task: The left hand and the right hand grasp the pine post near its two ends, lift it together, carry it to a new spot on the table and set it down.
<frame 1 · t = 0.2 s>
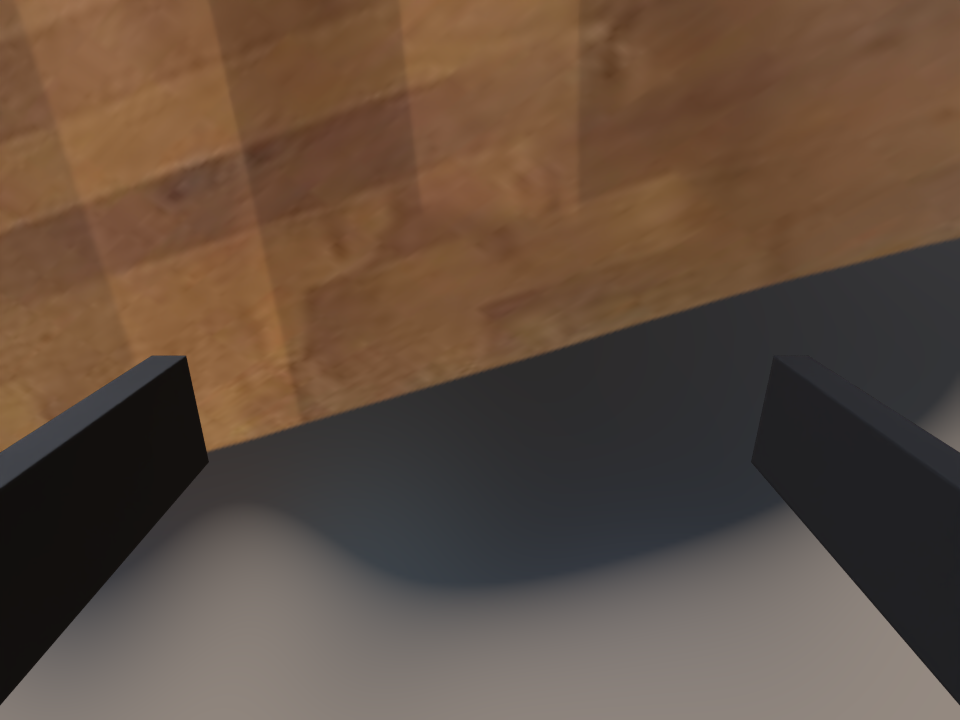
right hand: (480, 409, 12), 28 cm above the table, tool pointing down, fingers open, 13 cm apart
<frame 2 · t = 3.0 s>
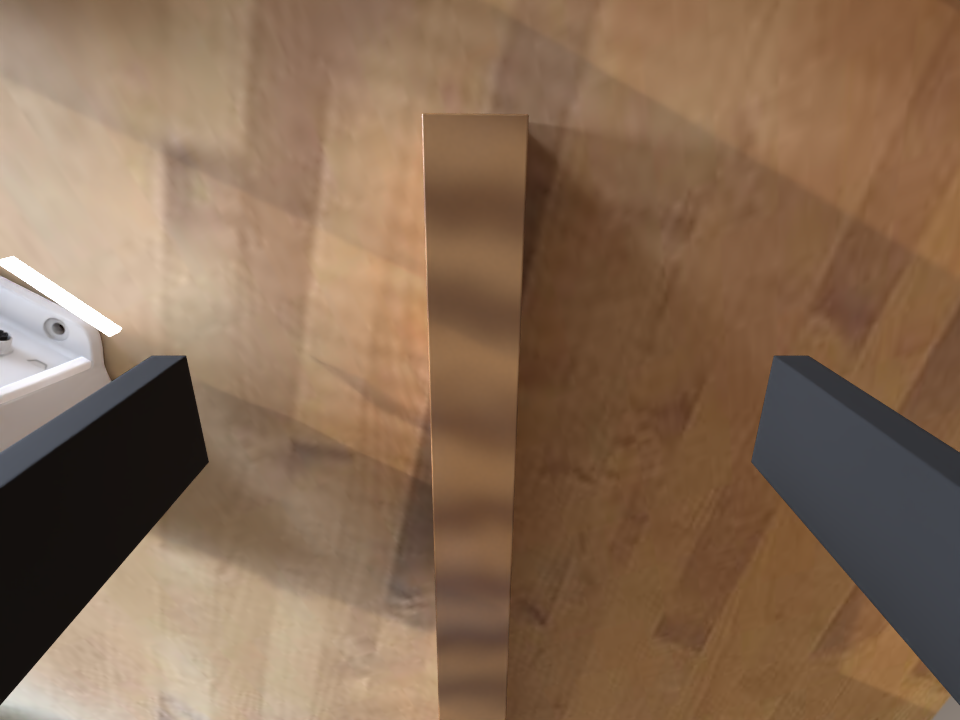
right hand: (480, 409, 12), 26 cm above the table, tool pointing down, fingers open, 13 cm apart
post: (474, 504, 44), on the table
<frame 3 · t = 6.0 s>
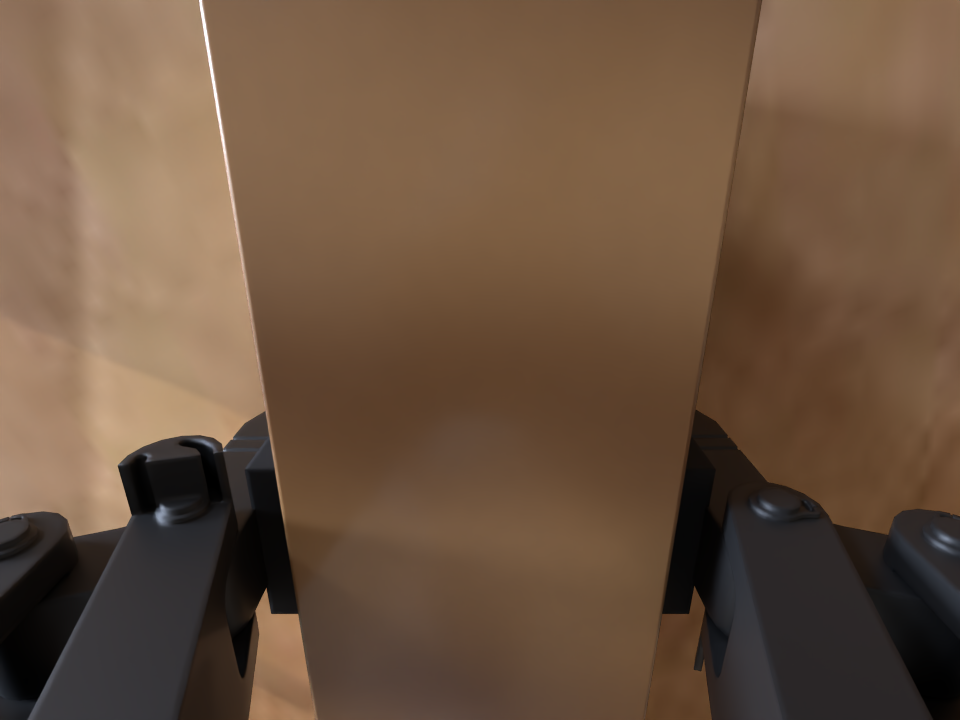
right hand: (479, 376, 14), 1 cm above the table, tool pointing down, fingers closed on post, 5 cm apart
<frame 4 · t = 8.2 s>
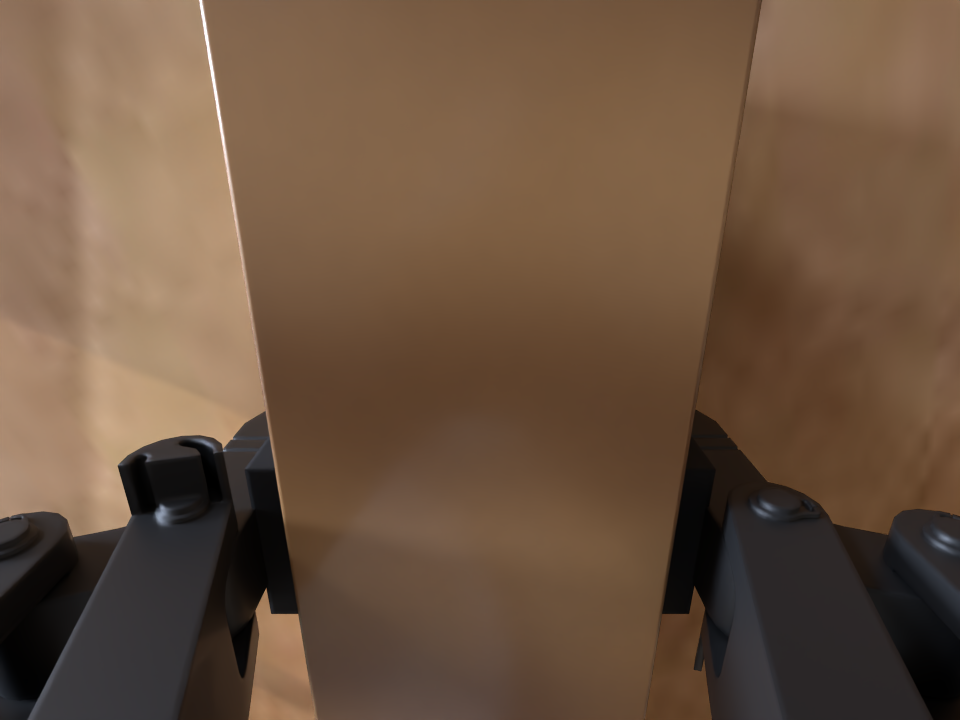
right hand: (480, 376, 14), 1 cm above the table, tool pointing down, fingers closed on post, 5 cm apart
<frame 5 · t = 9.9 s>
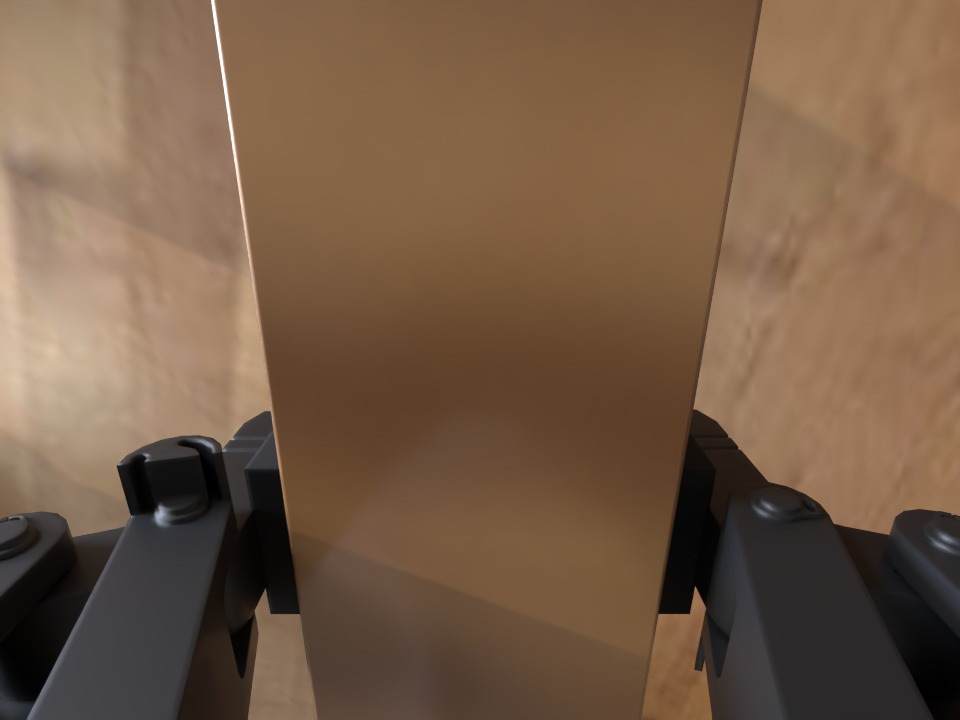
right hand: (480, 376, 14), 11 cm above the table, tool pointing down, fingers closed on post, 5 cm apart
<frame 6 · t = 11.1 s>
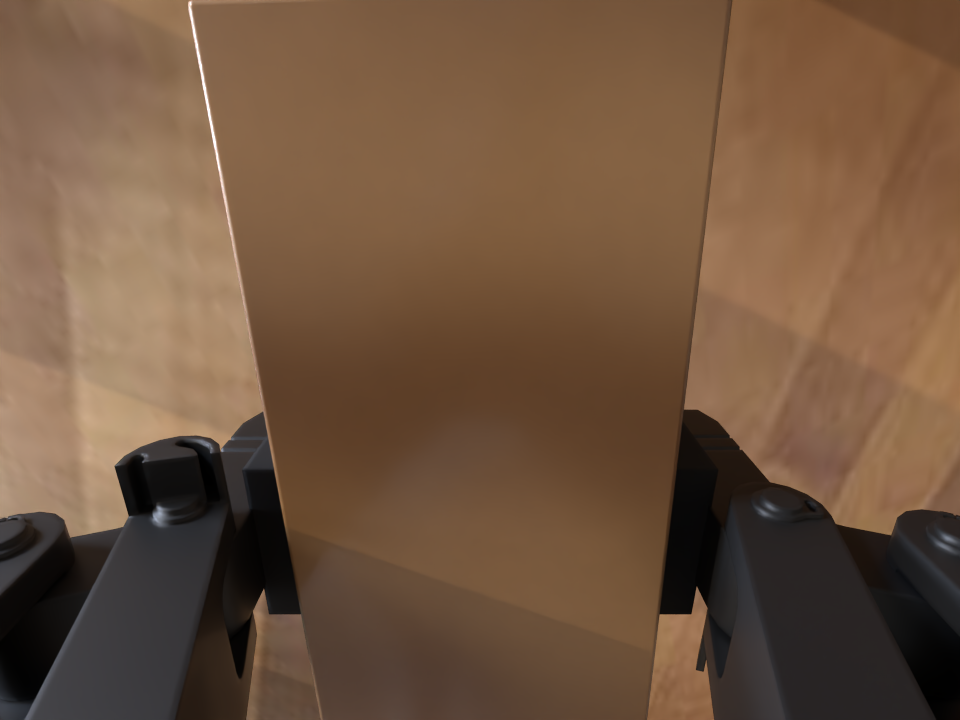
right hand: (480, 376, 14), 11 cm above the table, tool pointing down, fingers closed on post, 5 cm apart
when the right hand's fingers open (2 cm above the table, at t = 13.7 s): post drops 2 cm, on the table.
when the left hand's fingers open (4 cm above the table, at t = 13.9 s): post stays where it is, on the table.
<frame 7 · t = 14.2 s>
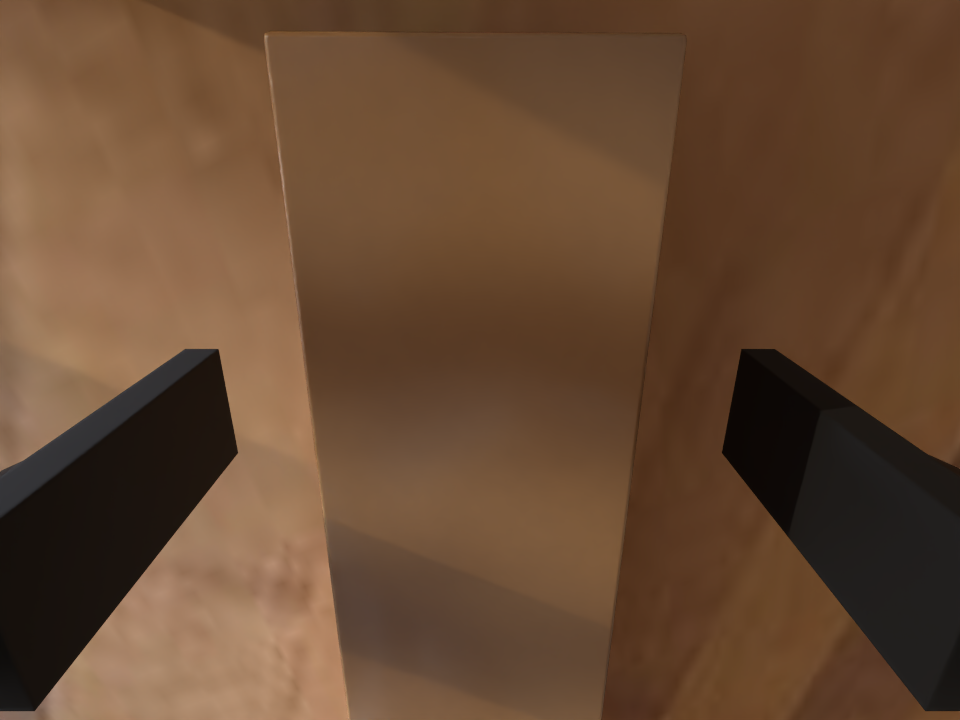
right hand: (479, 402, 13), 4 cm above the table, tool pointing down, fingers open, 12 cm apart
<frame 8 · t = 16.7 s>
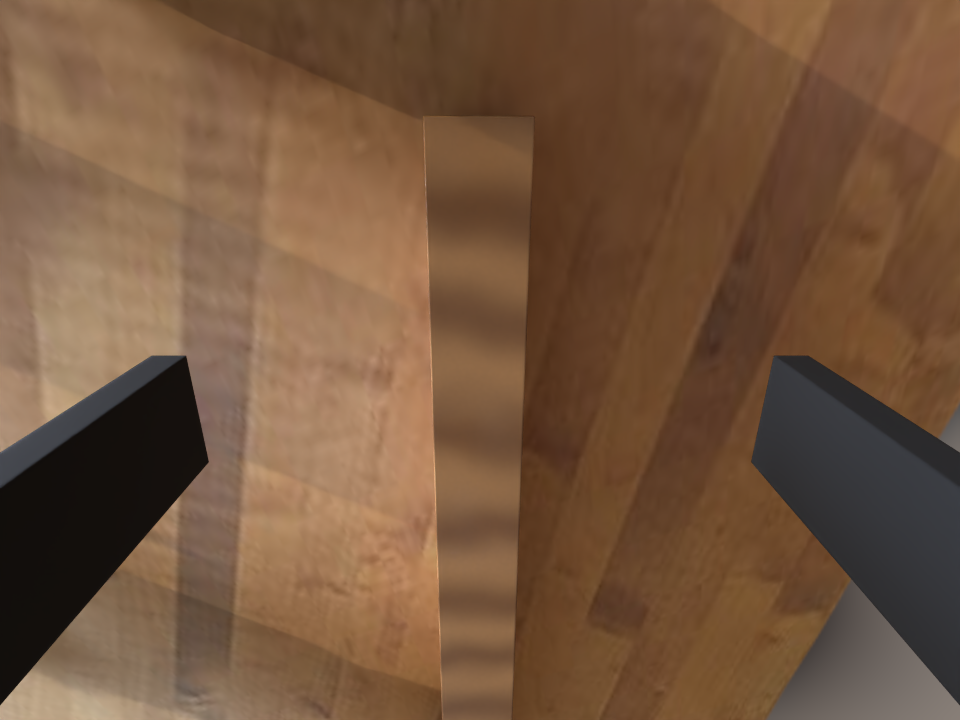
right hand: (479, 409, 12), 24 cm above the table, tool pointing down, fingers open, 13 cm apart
post: (477, 517, 43), on the table
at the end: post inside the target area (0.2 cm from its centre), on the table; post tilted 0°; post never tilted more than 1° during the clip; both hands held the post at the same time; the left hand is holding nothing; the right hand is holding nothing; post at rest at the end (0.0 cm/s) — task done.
